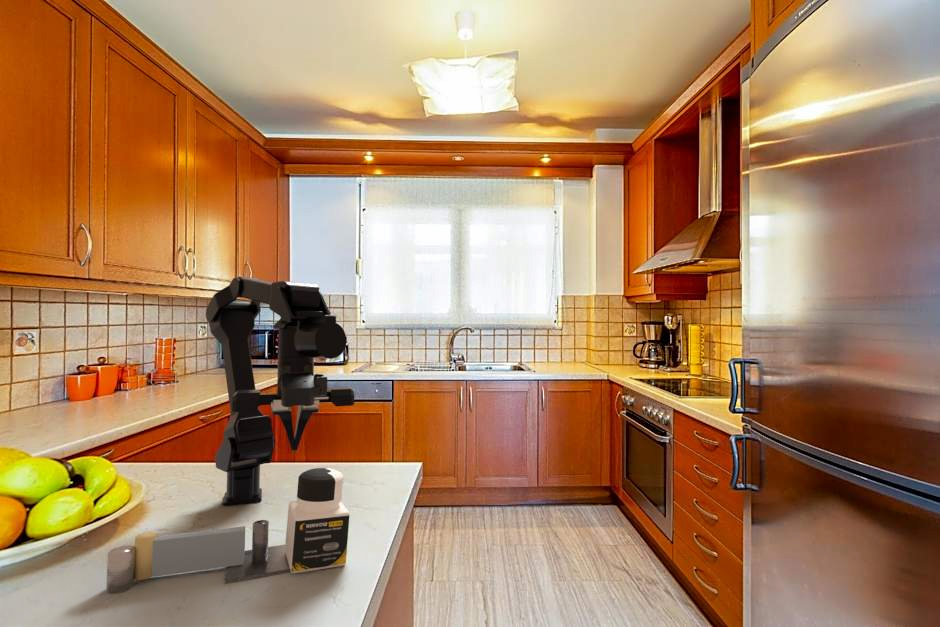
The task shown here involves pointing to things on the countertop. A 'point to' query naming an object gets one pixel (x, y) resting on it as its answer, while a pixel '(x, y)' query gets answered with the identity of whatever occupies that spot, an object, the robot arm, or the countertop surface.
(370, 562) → the countertop surface
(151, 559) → the gate
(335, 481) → the medicine bottle
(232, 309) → the robot arm
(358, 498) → the countertop surface
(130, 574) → the post
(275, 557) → the peg on base plate
